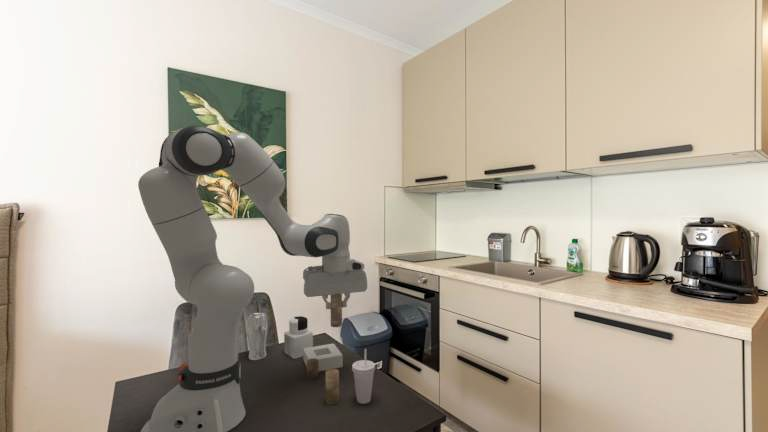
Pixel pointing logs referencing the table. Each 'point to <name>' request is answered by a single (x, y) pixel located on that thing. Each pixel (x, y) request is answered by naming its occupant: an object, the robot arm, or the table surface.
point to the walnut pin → (312, 369)
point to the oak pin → (332, 386)
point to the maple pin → (336, 310)
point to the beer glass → (257, 335)
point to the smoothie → (363, 379)
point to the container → (297, 337)
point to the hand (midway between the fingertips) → (336, 307)
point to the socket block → (324, 356)
